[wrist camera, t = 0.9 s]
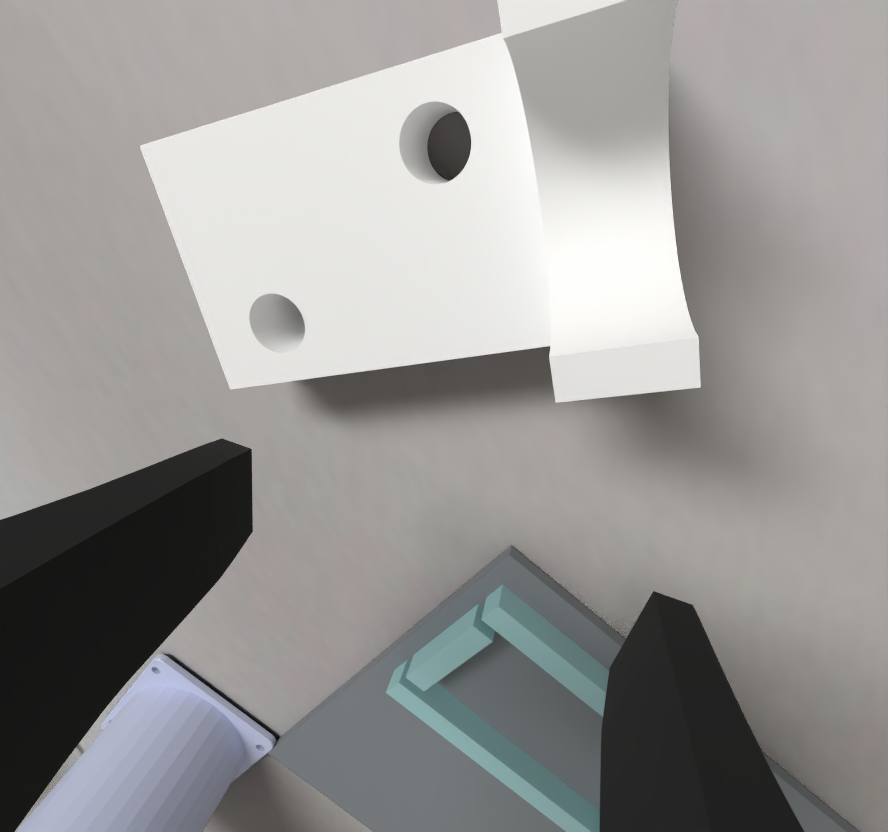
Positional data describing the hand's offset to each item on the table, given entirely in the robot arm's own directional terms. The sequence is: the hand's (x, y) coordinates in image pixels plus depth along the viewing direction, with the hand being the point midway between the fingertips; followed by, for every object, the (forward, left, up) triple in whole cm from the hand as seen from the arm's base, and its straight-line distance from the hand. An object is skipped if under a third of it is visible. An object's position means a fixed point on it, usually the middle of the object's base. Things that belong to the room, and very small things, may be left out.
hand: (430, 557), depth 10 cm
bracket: (+2, +5, -10) cm, 12 cm away
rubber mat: (-15, -15, -10) cm, 24 cm away
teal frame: (-10, -12, -10) cm, 19 cm away
